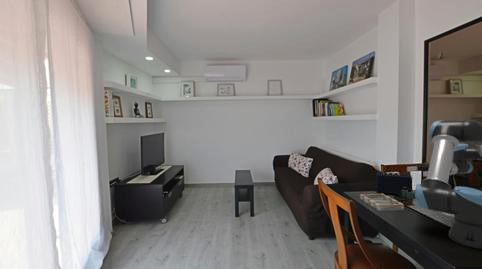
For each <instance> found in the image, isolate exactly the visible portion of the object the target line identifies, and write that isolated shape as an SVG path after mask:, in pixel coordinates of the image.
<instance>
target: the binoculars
mask: <svg viewBox="0 0 482 269" xmlns="http://www.w3.org/2000/svg"><path fill="white" fill-rule="evenodd" d="M406 188H407V187H405V186H403V190H402V195H401V194H400V195H394V197H393V199H394V200H396V201H398V202H400V203H402V204H404V206H406V205H410V206H413V205H414V203H413V202H414V198H413V191H412V192H411V189H407V190H406Z"/></svg>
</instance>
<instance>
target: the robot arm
mask: <svg viewBox="0 0 482 269" xmlns="http://www.w3.org/2000/svg"><path fill="white" fill-rule="evenodd" d="M429 139H430V141H431V142H432V144H433V149H432V152H431V157H430V158H431V159H430V162H429V165H416V164H415V165H414V166H407V167H406V172H417V171H423V172H422V173H423V174H422V175H423V176H422V177H426V178H424V179H422V181H421V183H417V184H416V185H415V189H414V190H415V202H416V204H417V206H418V207H419V208H422V209H425V210H428V211H434V212H440V213H444V214H448V215H453V222H452V224H451V226H450V229H449V230H448V238H449V239H450V240H452V241H453V242H455V243H457V244H460V245H462V246H465V247H470V248H475V249H480V250H481V249H482V190H479V189H476V188H472V187H468V186H460V185H459V186H455V187H454V188H452V186H451V184H449V178H450V176H452V175H462V174H469V173H472V172H473V170H474V166H473V164H472V162H471V161H470V162H469V160H474V161H475V160H478V161H482V122H480V121H477V120H471V119H469V120H468V119H467V120H466V119H465V120H458V119H457V120H444V119H443V120H442V119H441V120H436V121H434V122H433V123H432V124H431V125H430V128H429ZM467 143H472V144H474V145H475V147H472V146H471V147H470V146H469V144H467Z"/></svg>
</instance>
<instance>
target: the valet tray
mask: <svg viewBox="0 0 482 269" xmlns="http://www.w3.org/2000/svg"><path fill="white" fill-rule="evenodd" d="M359 199H360V201H362V202H364V203H365V204H367V205H369V206H370V207H372V208H373V209H375V210H376V211H378V212H387V211H388V212H391V211H404V210H405V205H404V204H402V203H400V202H398V201H397V200H396V199H394V198H392V197H390V196H388V195H386V194H385V193H382V194H380V193H362V194H360V198H359Z"/></svg>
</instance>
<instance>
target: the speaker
mask: <svg viewBox="0 0 482 269" xmlns="http://www.w3.org/2000/svg"><path fill="white" fill-rule="evenodd" d="M403 186H405V187H407V188H406V190H407V189H411V192H412V193H413V177H412V175H411V174H410V173H404V172H403V173H401V172H385V171H384V172H383V171H376V193H378V194H394V195H400V196H401V195H402V190H403Z"/></svg>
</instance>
